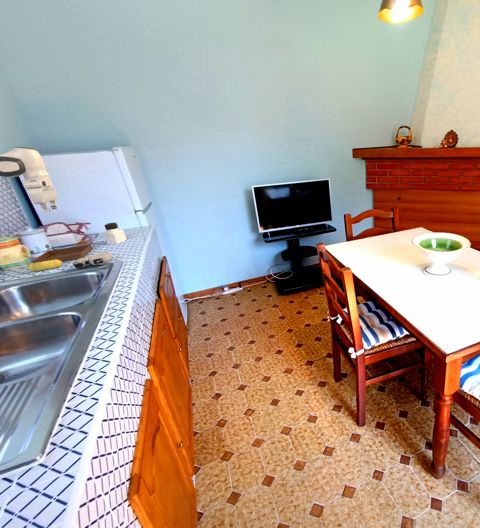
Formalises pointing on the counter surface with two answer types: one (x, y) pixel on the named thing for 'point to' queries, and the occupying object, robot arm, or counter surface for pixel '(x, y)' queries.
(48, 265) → the corn cob
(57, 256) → the tray
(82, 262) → the robot toy
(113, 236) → the medicine bottle
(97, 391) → the counter surface
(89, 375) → the counter surface
